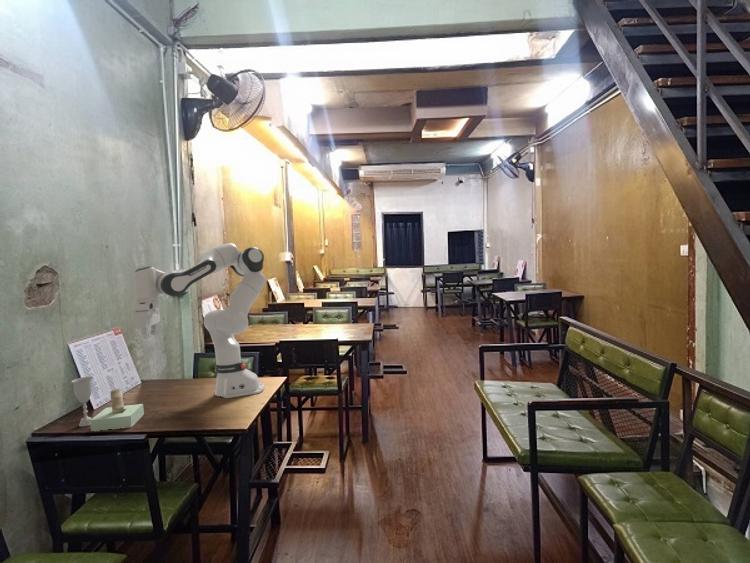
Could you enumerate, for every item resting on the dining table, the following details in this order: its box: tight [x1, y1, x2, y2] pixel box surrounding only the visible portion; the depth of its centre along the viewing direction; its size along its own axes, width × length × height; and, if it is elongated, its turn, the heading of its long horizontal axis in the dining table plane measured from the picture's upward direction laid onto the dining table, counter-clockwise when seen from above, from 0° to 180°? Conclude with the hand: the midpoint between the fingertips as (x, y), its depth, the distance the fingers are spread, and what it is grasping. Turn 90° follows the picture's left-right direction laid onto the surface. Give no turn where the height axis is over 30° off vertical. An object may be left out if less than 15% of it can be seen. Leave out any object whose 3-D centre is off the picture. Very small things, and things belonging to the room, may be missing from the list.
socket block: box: [90, 403, 145, 432], centre depth 170 cm, size 14×14×4 cm
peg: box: [109, 388, 125, 414], centre depth 170 cm, size 4×4×13 cm
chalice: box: [71, 376, 93, 427], centre depth 171 cm, size 7×7×18 cm
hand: (150, 336), depth 186 cm, fingers open, 8 cm apart
